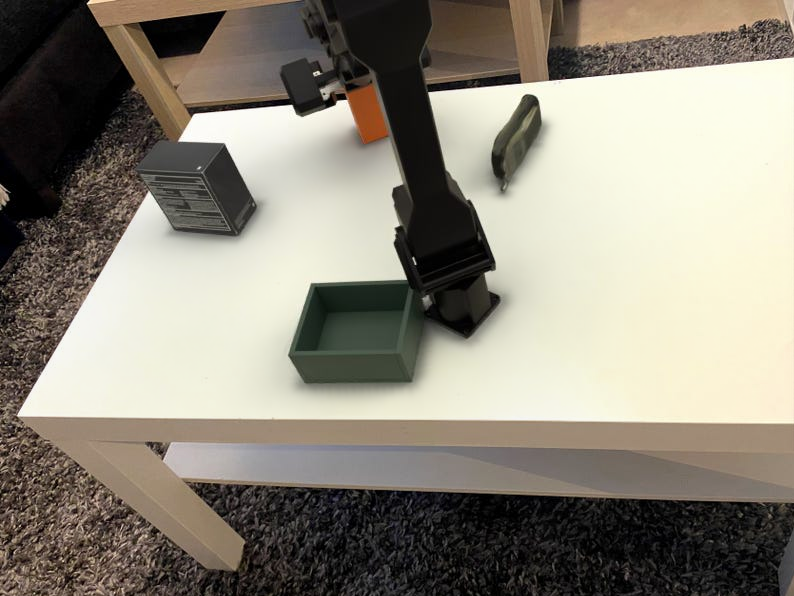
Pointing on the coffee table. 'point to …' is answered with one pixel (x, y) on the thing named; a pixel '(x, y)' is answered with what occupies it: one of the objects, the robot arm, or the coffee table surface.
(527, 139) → the olive green elongated pouch
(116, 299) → the coffee table surface
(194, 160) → the small box
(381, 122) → the orange rectangular block
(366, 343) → the bin
